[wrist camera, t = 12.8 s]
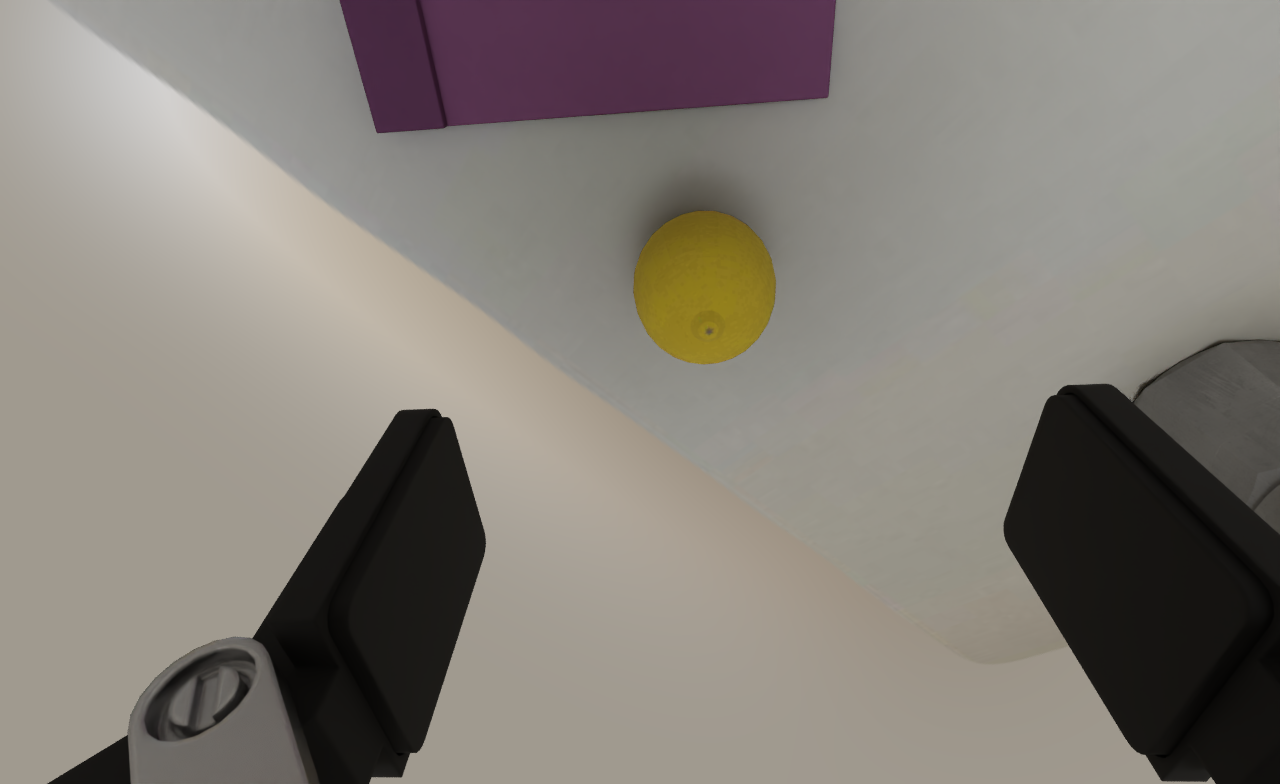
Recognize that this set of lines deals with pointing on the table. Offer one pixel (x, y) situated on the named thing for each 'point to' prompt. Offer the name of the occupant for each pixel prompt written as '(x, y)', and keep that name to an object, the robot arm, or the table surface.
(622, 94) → the purple notebook
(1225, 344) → the coffeepot
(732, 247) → the lemon
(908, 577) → the table surface
